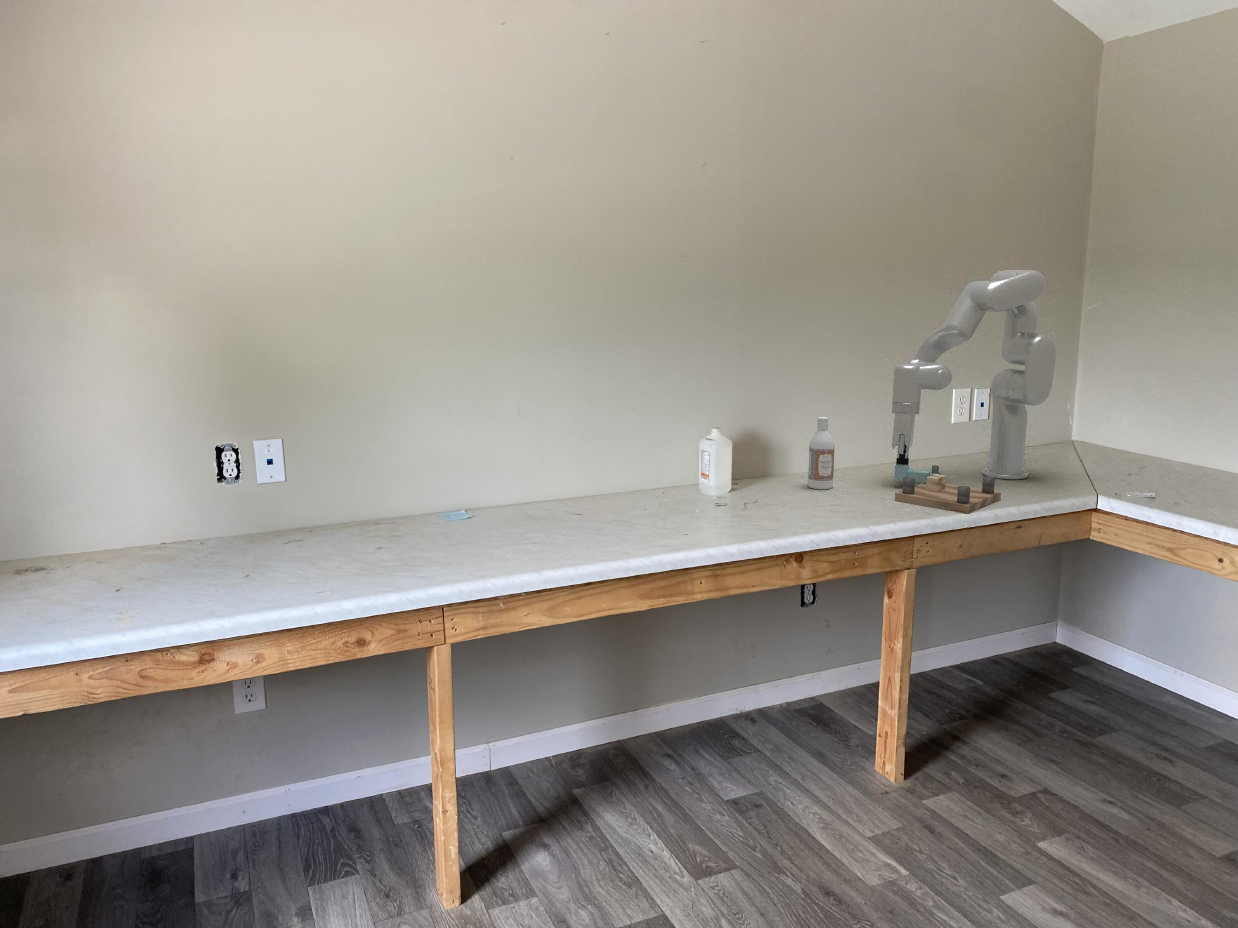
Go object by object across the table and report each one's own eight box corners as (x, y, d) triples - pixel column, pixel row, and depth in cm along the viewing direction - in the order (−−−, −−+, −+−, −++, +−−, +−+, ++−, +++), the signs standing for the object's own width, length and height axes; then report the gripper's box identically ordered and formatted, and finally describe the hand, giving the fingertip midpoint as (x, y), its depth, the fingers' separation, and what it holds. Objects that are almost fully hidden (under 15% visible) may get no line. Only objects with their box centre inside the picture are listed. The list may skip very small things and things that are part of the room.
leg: (940, 481, 255) (941, 467, 254) (937, 484, 251) (938, 470, 251) (897, 477, 261) (897, 463, 260) (893, 480, 257) (894, 466, 256)
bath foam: (812, 490, 256) (815, 419, 252) (804, 484, 263) (806, 416, 258) (836, 489, 257) (839, 419, 253) (827, 483, 264) (830, 415, 259)
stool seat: (929, 487, 258) (931, 463, 256) (1000, 499, 244) (1002, 473, 243) (894, 500, 244) (896, 474, 242) (967, 513, 230) (969, 486, 229)
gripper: (895, 404, 265) (891, 465, 269) (888, 410, 252) (884, 475, 256) (922, 405, 263) (918, 467, 266) (916, 412, 249) (912, 478, 253)
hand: (901, 471), depth 261 cm, fingers closed
